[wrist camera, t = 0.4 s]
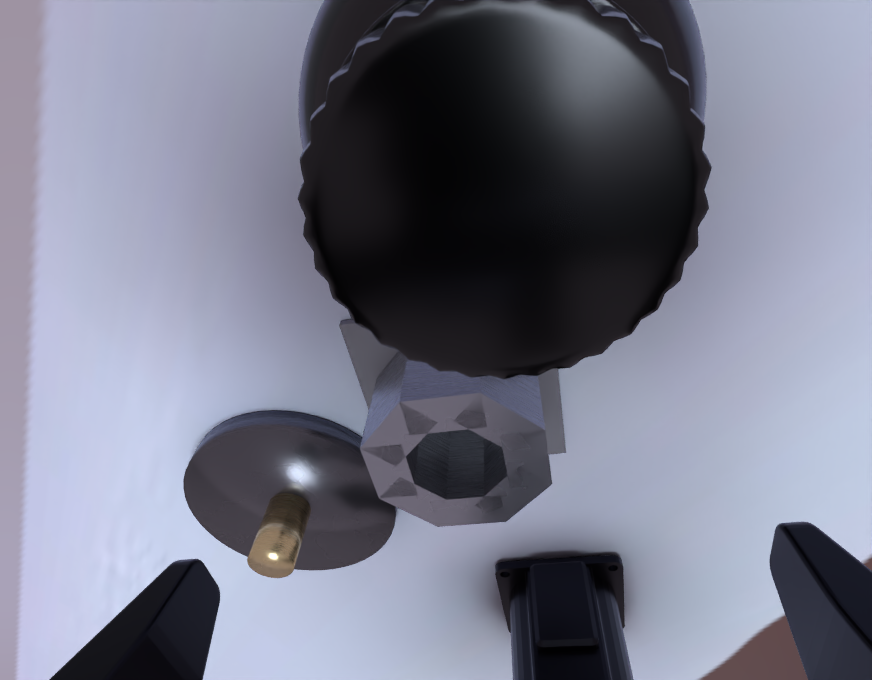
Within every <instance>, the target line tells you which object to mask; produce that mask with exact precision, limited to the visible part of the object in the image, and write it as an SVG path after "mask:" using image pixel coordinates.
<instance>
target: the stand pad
mask: <svg viewBox="0 0 872 680" xmlns="http://www.w3.org/2000/svg"><path fill="white" fill-rule="evenodd" d="M339 326H340V329H341V332H342V334H343V337H344V340H345V343H346V346H347V349H348V352H349V354H350V357H351V360H352V363H353V366H354V369H355V372H356V374H357V377H358V380H359V383H360V386H361V389H362V392H363V394H364V397H365V400H366V403H367V406H368V409H369V408H370V404H371V400H372V396H373V392H374V387H375V383H376V379H377V377H378V375H379V374H380V373H381V372H382V370H383V369H384V368H385V367H386V365H387V364H388V363H389V361H390V360H391V359H392V358H393V356H394V355H395V354H396V353H397V351H398V350H396V349H393V348H389V347H387V346H384V345H381V344H380V343H379V342H378V341H377V340H376V338H375V337H374V336H373V334H372V333H371V332H370V331H369V330H367V329H365V328H362V327H360V326H359V325H357V324H355V323H354V321H353V319H352V320H345V321H341V322H340V325H339ZM538 380H539V387H540V395H541V402H542V409H543V416H544V424H545V432H546V440H547V448H548V454H558V453H566V449H565V438H564V428H563V418H562V408H561V398H560V388H559V378H558V369H551V370H548V371H547V372H545V373H543V374H541V375H538Z"/></svg>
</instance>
